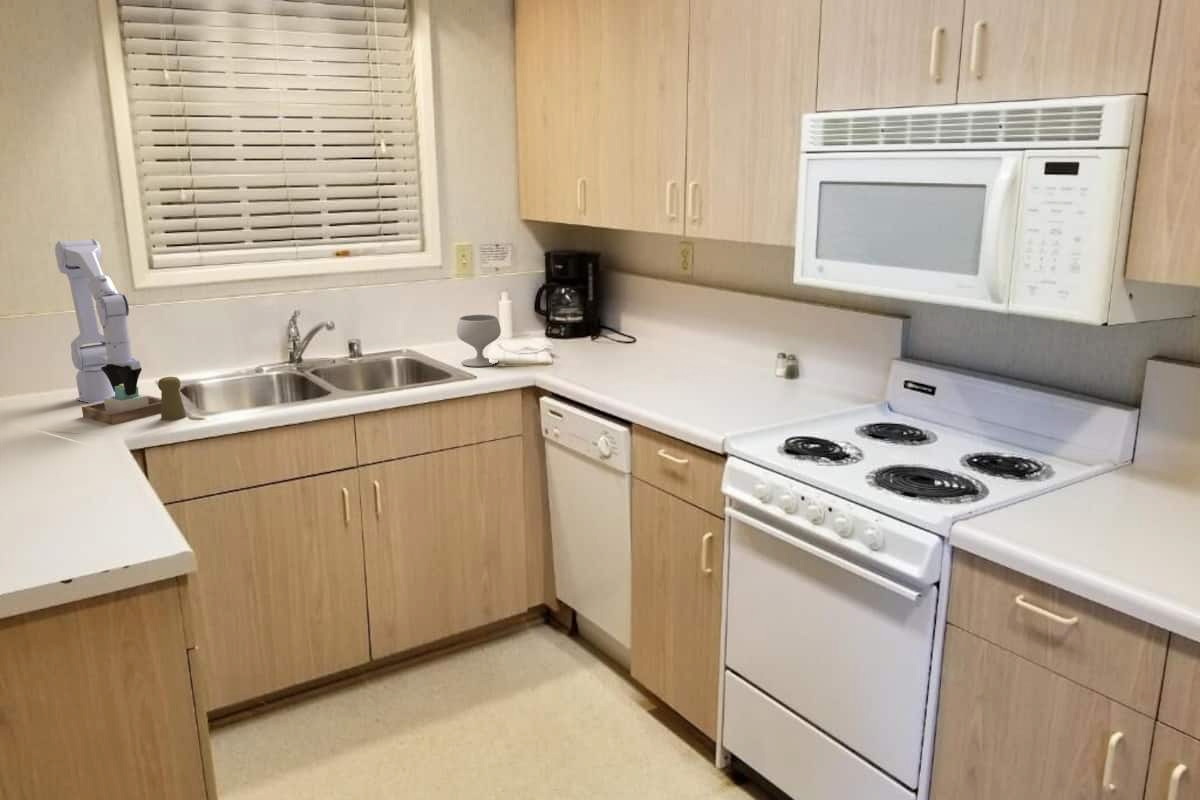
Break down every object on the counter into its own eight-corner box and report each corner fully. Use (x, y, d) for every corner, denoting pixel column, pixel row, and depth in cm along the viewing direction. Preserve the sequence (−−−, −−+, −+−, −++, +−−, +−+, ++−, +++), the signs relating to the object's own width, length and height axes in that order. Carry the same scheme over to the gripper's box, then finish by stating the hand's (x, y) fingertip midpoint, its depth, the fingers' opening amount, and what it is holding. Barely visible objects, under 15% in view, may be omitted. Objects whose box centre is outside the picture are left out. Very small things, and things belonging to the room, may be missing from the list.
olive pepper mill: (191, 415, 240) (186, 374, 238) (178, 422, 235) (173, 380, 232) (169, 415, 241) (163, 374, 238) (156, 421, 235) (150, 380, 232)
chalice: (452, 361, 301) (450, 316, 297) (492, 357, 307) (490, 312, 303) (467, 370, 289) (465, 322, 285) (508, 365, 295) (506, 318, 291)
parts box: (83, 418, 239) (81, 407, 238) (141, 404, 252) (140, 393, 251) (113, 426, 232) (111, 414, 231) (172, 411, 245) (170, 400, 244)
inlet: (106, 414, 241) (103, 398, 240) (133, 408, 247) (131, 392, 246) (122, 418, 237) (119, 401, 236) (149, 412, 243) (147, 395, 242)
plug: (115, 412, 241) (114, 384, 239) (130, 409, 244) (129, 382, 243) (124, 415, 239) (123, 387, 237) (139, 412, 242) (138, 384, 240)
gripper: (86, 341, 238) (94, 392, 241) (118, 347, 230) (126, 400, 233) (113, 337, 243) (120, 387, 247) (145, 342, 236) (152, 394, 239)
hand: (125, 393), depth 240 cm, fingers open, 5 cm apart
